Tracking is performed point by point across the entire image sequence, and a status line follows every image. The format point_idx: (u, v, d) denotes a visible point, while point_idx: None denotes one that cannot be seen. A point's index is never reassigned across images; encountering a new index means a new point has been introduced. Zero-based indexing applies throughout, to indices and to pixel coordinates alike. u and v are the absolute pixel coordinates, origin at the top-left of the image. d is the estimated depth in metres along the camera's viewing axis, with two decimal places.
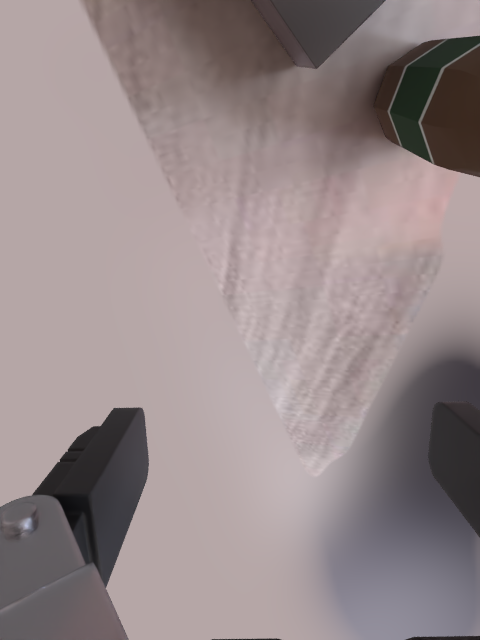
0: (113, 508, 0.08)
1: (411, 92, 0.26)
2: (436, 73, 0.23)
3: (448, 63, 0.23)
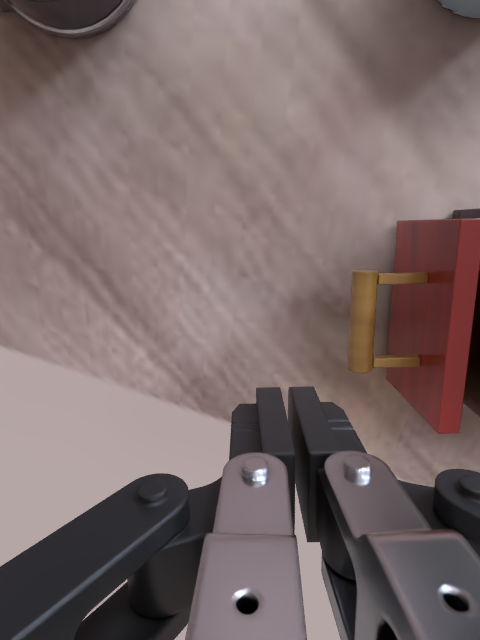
0: None
1: None
2: None
3: None
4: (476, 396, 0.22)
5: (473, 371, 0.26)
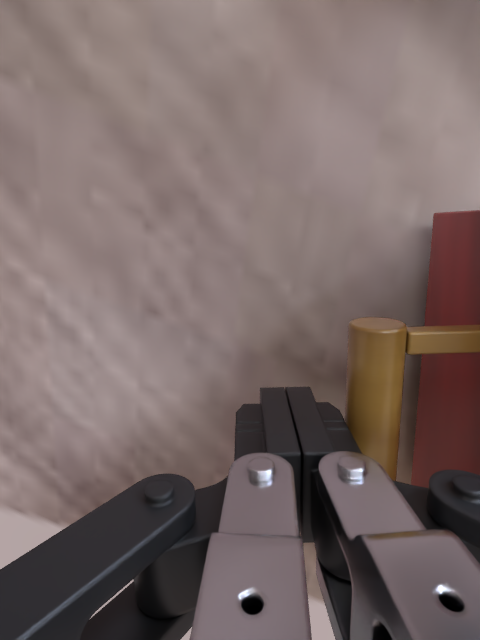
0: None
1: None
2: None
3: None
4: None
5: None
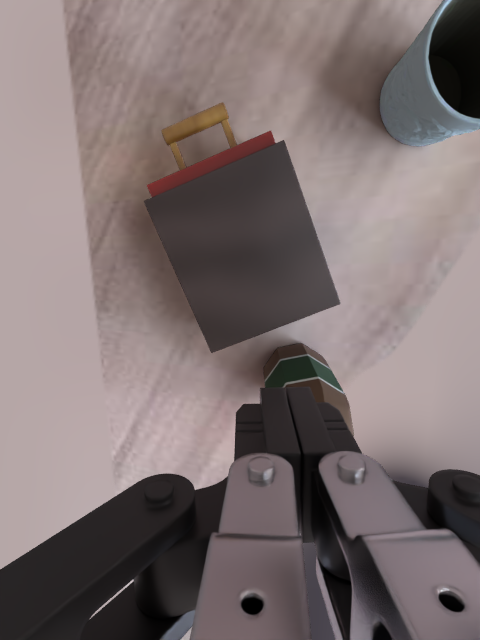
0: None
1: (274, 382, 0.38)
2: (283, 383, 0.36)
3: (290, 381, 0.35)
4: None
5: None
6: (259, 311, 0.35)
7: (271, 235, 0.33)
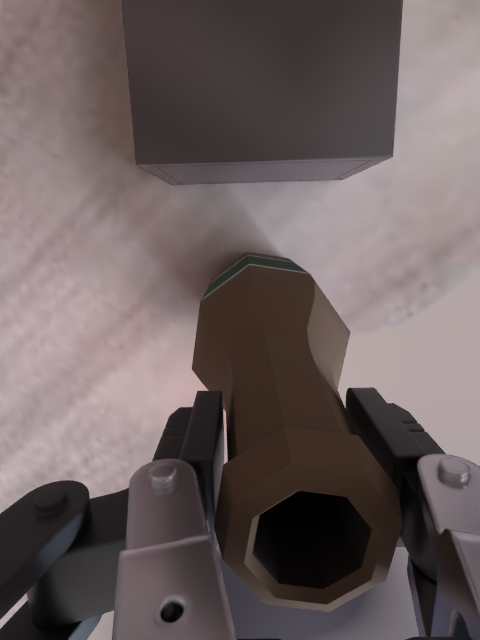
0: (217, 476, 0.09)
1: (227, 274, 0.22)
2: (244, 266, 0.19)
3: (257, 265, 0.19)
4: None
5: None
6: (248, 115, 0.18)
7: None
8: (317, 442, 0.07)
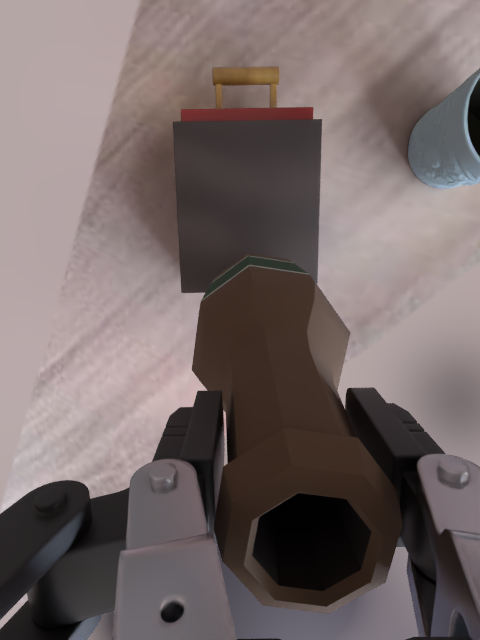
0: (217, 476, 0.09)
1: (227, 275, 0.22)
2: (244, 267, 0.19)
3: (257, 265, 0.19)
4: None
5: None
6: None
7: (278, 202, 0.34)
8: (317, 444, 0.07)
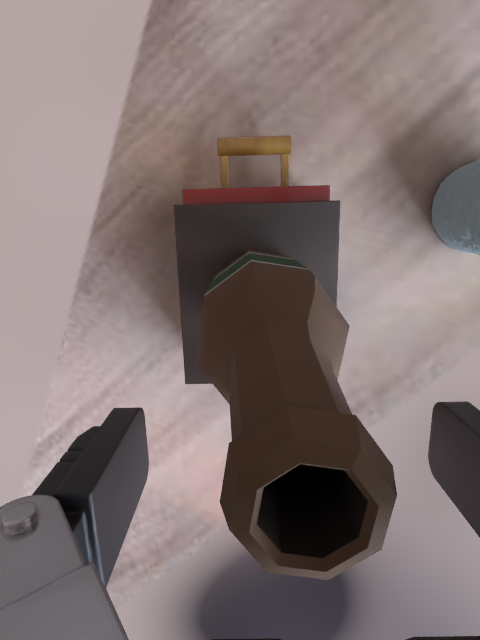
0: (113, 508, 0.08)
1: (229, 270, 0.23)
2: (246, 263, 0.20)
3: (258, 261, 0.19)
4: None
5: None
6: None
7: None
8: (317, 420, 0.08)
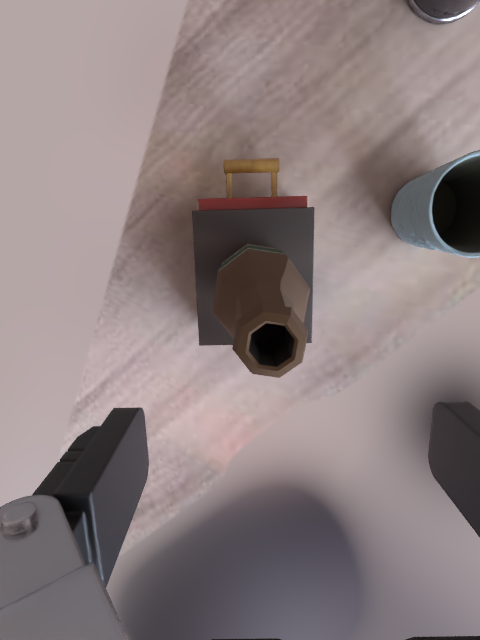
0: (113, 508, 0.08)
1: (233, 256, 0.33)
2: (245, 250, 0.30)
3: None
4: None
5: None
6: None
7: None
8: (274, 307, 0.18)
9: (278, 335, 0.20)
